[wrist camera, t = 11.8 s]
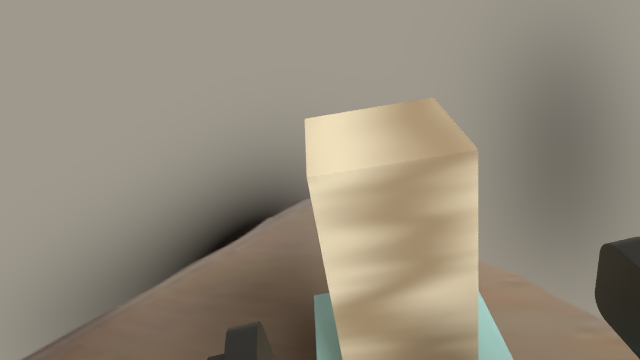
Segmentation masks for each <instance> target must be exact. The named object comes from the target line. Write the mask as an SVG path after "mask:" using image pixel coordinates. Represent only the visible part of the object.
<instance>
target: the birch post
mask: <svg viewBox="0 0 640 360" xmlns="http://www.w3.org/2000/svg"><path fill="white" fill-rule="evenodd" d="M305 137H306V138H305V139H306V166H307V181H308V186H309V190H310V196H311V201H312V206H313V211H314V216H315V221H316V226H317V231H318V237H319V242H320V247H321V252H322V257H323V262H324V267H325V272H326V277H327V282H328V288H329V293H330V298H331V303H332V308H333V313H334V318H335V323H336V328H337V333H338V338H339V344H340V349H341V354H342V359H343V360H478V149H477V148H476V147H475V146H474V144H473V143H472V142H471V141H470V140H469V139H468V137H467V136H466V135H465V134H464V133H463V132H462V131H461V129H460V128H459V127H458V126H457V125H456V124H455V123H454V121H453V120H452V119H451V118H450V117H449V116H448V114H447V113H446V112H445V111H444V110H443V109H442V107H441V106H440V105H439V104H438V103H437V102H436V100H435V99H434V98H427V99H421V100H415V101H409V102H403V103H397V104H391V105H385V106H379V107H373V108H367V109H361V110H355V111H349V112H343V113H337V114H331V115H326V116H320V117H313V118H308V119H305Z"/></svg>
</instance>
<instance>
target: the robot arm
mask: <svg viewBox="0 0 640 360" xmlns="http://www.w3.org/2000/svg"><path fill="white" fill-rule="evenodd" d="M595 299H596V303H597V306H598V309H599V311H600V313H601V315H602V316H603V318H604V319H605V320H606V322H607V323H608V324H609V325H610V326H611V327H612V328H613V329H614V331H615V332H616V333H617V334H618V335H619V336H620V337H621V338H622V340H623V341H624V342H625V343H626V344H627V345H628V346H629V347H630V349H631V350H632V351H633V352H634V353H635V354H636V355H637V357H638V358H639V359H640V237H634V238H629V239H625V240H620V241H616V242H611V243H607V244H604V245H603V246H602V247H601V249H600V255H599V263H598V271H597V279H596V287H595ZM207 360H275V359H274V356H273V354H272V351H271V348H270V345H269V342H268V340H267V337H266V334H265V331H264V328H263V326H262V324H261V322H260V321H259V322H254V323H250V324H245V325H241V326H237V327H232V328H228V330H227V333H226V342H225V353H224V354H221V355H217V356H212V357H208V359H207Z"/></svg>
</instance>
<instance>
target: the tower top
mask: <svg viewBox="0 0 640 360" xmlns="http://www.w3.org/2000/svg"><path fill="white" fill-rule="evenodd" d="M314 310H315V330H316V350H317V360H343V359H342V354H341V349H340V344H339V338H338V333H337V328H336V323H335V318H334V313H333V308H332V303H331V298H330V293H324V294H319V295H314ZM478 360H513V358H512V356H511V354H510V352H509V350H508V348H507V346H506V344H505V342H504V340H503V338H502V336H501V334H500V332H499V330H498V328H497V326H496V324H495V322H494V320H493V318H492V316H491V314H490V312H489V310H488V308H487V306H486V305H485V303H484V301H483V299H482V297H481V295H480V293H479V291H478Z"/></svg>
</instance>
